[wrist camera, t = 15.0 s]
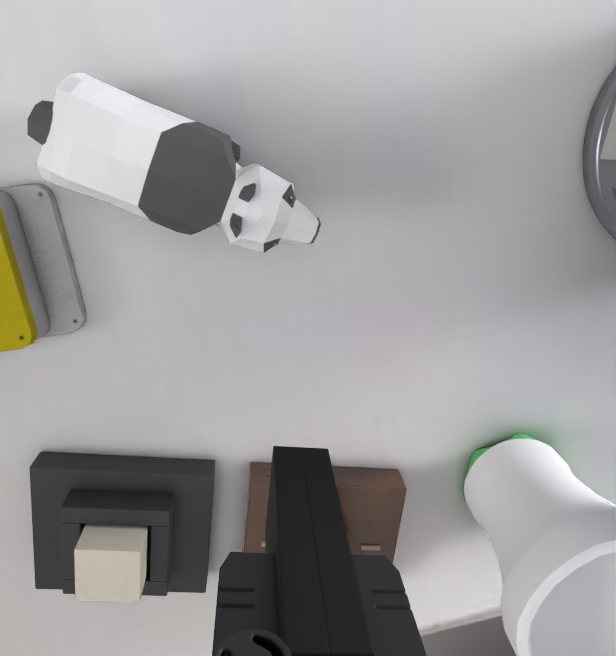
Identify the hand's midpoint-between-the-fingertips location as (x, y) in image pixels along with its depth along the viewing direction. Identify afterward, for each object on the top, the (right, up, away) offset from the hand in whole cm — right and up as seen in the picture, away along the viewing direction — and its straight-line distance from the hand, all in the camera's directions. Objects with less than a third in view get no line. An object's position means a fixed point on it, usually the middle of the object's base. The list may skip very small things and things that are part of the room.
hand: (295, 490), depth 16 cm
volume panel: (+1, -10, +27) cm, 29 cm away
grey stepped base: (-13, -9, +26) cm, 30 cm away
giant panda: (-7, +14, +19) cm, 24 cm away
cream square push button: (-12, -10, +22) cm, 28 cm away
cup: (+15, -7, +28) cm, 32 cm away
